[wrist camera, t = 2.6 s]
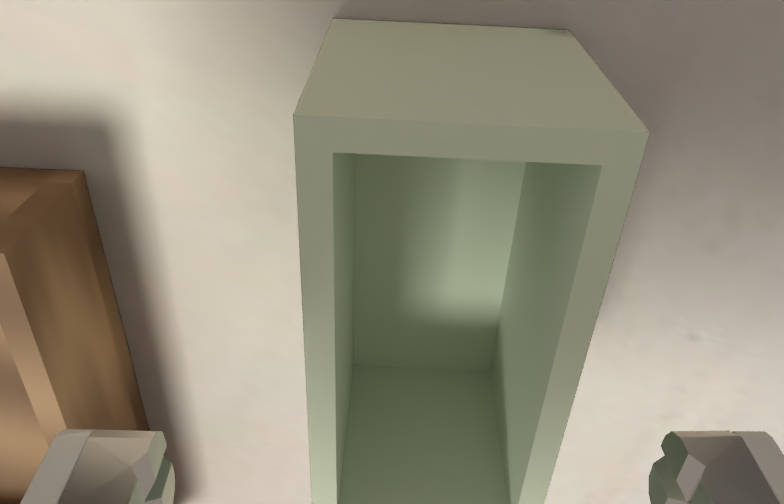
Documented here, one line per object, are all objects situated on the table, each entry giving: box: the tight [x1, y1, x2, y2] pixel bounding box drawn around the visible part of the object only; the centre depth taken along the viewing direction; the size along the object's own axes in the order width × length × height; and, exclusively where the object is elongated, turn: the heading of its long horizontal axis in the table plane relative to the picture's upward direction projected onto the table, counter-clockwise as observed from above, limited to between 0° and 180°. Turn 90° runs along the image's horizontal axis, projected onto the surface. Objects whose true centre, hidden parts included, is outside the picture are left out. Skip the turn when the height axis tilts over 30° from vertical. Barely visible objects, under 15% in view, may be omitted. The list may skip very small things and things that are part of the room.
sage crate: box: [293, 19, 650, 504], centre depth 15 cm, size 11×6×6 cm, turn 178°
